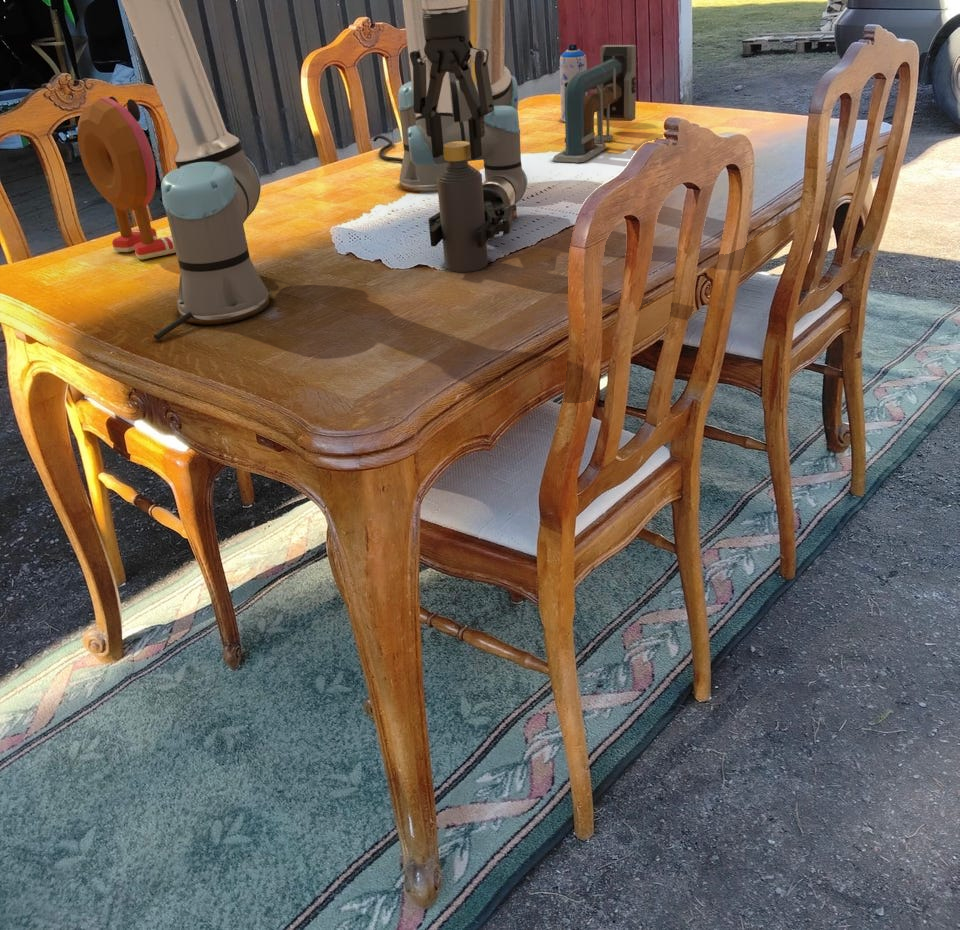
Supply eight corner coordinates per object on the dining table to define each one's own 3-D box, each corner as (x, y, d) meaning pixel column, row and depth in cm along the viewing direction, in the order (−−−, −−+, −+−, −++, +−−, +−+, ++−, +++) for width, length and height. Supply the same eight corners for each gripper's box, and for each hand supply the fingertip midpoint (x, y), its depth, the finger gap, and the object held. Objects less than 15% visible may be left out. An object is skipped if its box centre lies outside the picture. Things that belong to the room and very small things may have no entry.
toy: (197, 251, 195) (161, 95, 180) (152, 266, 189) (111, 105, 174) (143, 235, 208) (105, 88, 193) (99, 248, 202) (57, 97, 187)
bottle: (496, 261, 177) (488, 144, 166) (469, 274, 172) (459, 155, 161) (463, 255, 181) (454, 141, 171) (436, 267, 176) (424, 151, 166)
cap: (442, 162, 165) (441, 148, 164) (445, 155, 169) (444, 141, 168) (469, 160, 165) (468, 146, 164) (472, 154, 169) (471, 140, 168)
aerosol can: (559, 122, 275) (557, 47, 265) (562, 117, 282) (559, 42, 272) (587, 121, 274) (585, 45, 263) (589, 115, 280) (587, 41, 270)
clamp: (583, 162, 234) (581, 68, 223) (550, 161, 238) (547, 68, 227) (635, 130, 260) (635, 44, 249) (604, 129, 263) (604, 45, 253)
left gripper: (380, 15, 156) (397, 159, 168) (490, 12, 148) (499, 164, 160) (404, 9, 162) (418, 149, 174) (510, 5, 154) (518, 153, 166)
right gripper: (544, 221, 187) (513, 261, 169) (442, 220, 193) (402, 258, 174) (542, 183, 183) (511, 219, 165) (439, 182, 189) (397, 217, 171)
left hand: (457, 156), depth 167 cm, fingers open, 7 cm apart
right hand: (455, 239), depth 170 cm, fingers closed on bottle, 8 cm apart
